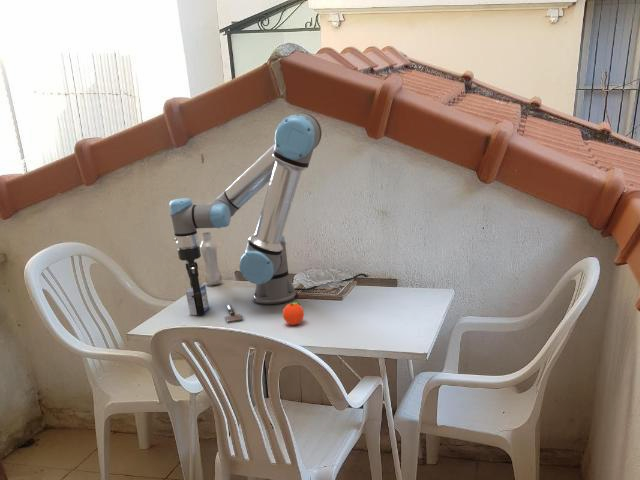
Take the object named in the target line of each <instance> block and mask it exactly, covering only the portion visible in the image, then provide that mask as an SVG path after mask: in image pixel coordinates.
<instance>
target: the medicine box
mask: <svg viewBox="0 0 640 480" xmlns="http://www.w3.org/2000/svg"><path fill="white" fill-rule="evenodd" d="M199 285H200V290H201V294H202V301H203V307H204V312H206V311H208V310H209V309H210V304H209V299H208V293H207V287H206V284H199ZM185 295H186V302H187V306H188V310H189V311H188V312H189V316H198V315H197V312H196V307H195V301H194V298H192V296H194V293H193V288H191V287H190V288H189V289H188V290H187V291H185Z"/></svg>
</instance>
